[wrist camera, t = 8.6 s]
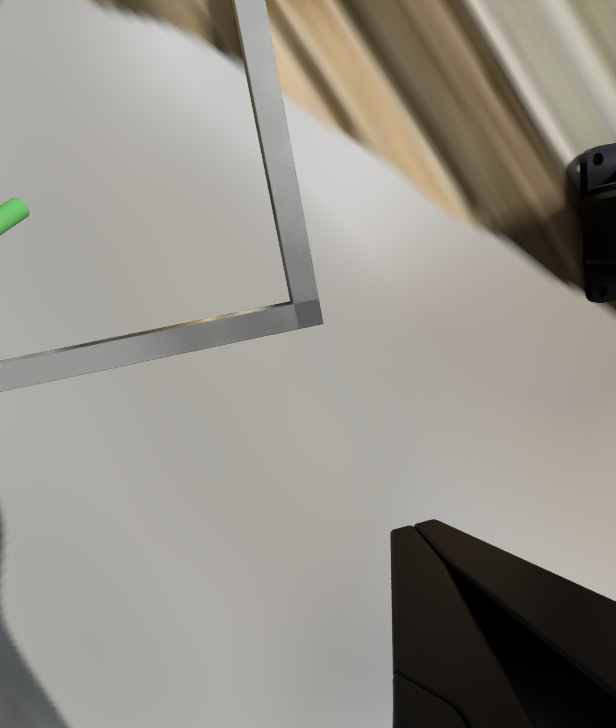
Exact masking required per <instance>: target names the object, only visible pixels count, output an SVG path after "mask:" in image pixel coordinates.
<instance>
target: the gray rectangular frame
mask: <svg viewBox="0 0 616 728" xmlns="http://www.w3.org/2000/svg"><path fill="white" fill-rule="evenodd" d="M232 5H233V11H234V16H235V21H236V26H237V31H238V36H239V41H240V46H241V51H242V56H243V62H244V67H245V72H246V77H247V82H248V87H249V92H250V97H251V102H252V108H253V112H254V118H255V123H256V128H257V133H258V138H259V143H260V148H261V153H262V158H263V164H264V168H265V174H266V179H267V184H268V189H269V194H270V199H271V205H272V209H273V215H274V220H275V225H276V230H277V235H278V240H279V245H280V250H281V256H282V261H283V266H284V271H285V276H286V281H287V286H288V291H289V296H290V302H286V303H280V304H275V305H270V306H265V307H260V308H256V309H251V310H246V311H241V312H236V313H231V314H226V315H221V316H217V317H212V318H206V319H202V320H197V321H192V322H187V323H182V324H177V325H173V326H168V327H162V328H157V329H152V330H148V331H143V332H138V333H133V334H128V335H123V336H118V337H113V338H108V339H103V340H99V341H94V342H89V343H84V344H79V345H74V346H69V347H64V348H60V349H54V350H50V351H45V352H40V353H35V354H30V355H25V356H20V357H15V358H10V359H6V360H0V392H2V391H6V390H11V389H16V388H21V387H26V386H30V385H35V384H40V383H44V382H49V381H54V380H59V379H63V378H68V377H73V376H78V375H83V374H87V373H92V372H96V371H101V370H106V369H111V368H116V367H120V366H125V365H130V364H135V363H140V362H144V361H149V360H154V359H159V358H163V357H168V356H173V355H177V354H182V353H187V352H191V351H197V350H201V349H206V348H211V347H215V346H221V345H225V344H230V343H235V342H239V341H244V340H249V339H254V338H258V337H263V336H268V335H273V334H278V333H282V332H287V331H291V330H297V329H301V328H306V327H311V326H315V325H320V324H323V319H322V314H321V308H320V303H319V297H318V292H317V286H316V281H315V276H314V270H313V264H312V258H311V253H310V248H309V242H308V236H307V231H306V225H305V219H304V214H303V208H302V203H301V197H300V192H299V187H298V181H297V175H296V170H295V164H294V159H293V153H292V148H291V142H290V136H289V131H288V125H287V120H286V114H285V109H284V103H283V98H282V92H281V87H280V81H279V76H278V70H277V64H276V59H275V53H274V48H273V42H272V37H271V31H270V26H269V20H268V15H267V9H266V4H265V0H232Z"/></svg>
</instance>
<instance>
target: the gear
mask: <svg viewBox="0 0 616 728" xmlns="http://www.w3.org/2000/svg"><path fill="white" fill-rule="evenodd" d="M28 216H29V210H28V208H27V207H26V206H25V204H24V203H23V202H22V201H20V200H19V199H17V198H12V199H10V200H9V201H7V202H6V203H4V204H2V205H1V206H0V235H1V234H3V233H4V232H5V231H7V230H9V229H10V228H12V227H13V226H15V225H16V224H18V223H19V222H20V221H22V220H23V219H25V218H26V217H28Z"/></svg>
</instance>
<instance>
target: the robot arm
mask: <svg viewBox="0 0 616 728" xmlns="http://www.w3.org/2000/svg"><path fill="white" fill-rule="evenodd" d="M593 156H595V157H596V164H595V165H594V164H593V161H592V159H593ZM580 176H581V200H582V227H583V251H584V275H585V294H586V298H587V299H588V300H589V301H591V302H596V303H604V302H609V301H613V300H616V143H613V144H608V145H602V146H597V147H594V148H591V149H588V150H586V151H585V152H584V153H583V154H582V157H581V159H580ZM599 287H600V289H601V291H600V294H599V295H597V290H598V288H599ZM391 585H392V586H391V589H392V646H393V728H616V601H613V600H612V599H609V598H607V597H605V596H603V595H600V594H598V593H596V592H594V591H592V590H590V589H587V588H585V587H583V586H581V585H578V584H576V583H574V582H572V581H570V580H567V579H565V578H563V577H561V576H559V575H556V574H554V573H552V572H550V571H548V570H545V569H543V568H541V567H539V566H537V565H534V564H532V563H530V562H528V561H526V560H524V559H522V558H519V557H517V556H515V555H512V554H511V553H508V552H506V551H504V550H502V549H500V548H497V547H495V546H493V545H491V544H489V543H486V542H484V541H482V540H480V539H478V538H475V537H473V536H471V535H469V534H467V533H464V532H462V531H460V530H458V529H456V528H453V527H451V526H449V525H447V524H445V523H442V522H440V521H438V520H435V519H433V520H428V521H425V522H421V523H417V524H415V525H414V527H413V526H406V527H402V528H398V529H394V530H392V531H391Z"/></svg>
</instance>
